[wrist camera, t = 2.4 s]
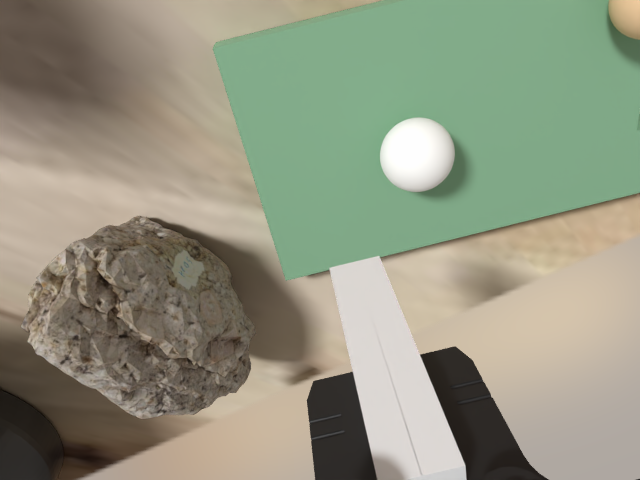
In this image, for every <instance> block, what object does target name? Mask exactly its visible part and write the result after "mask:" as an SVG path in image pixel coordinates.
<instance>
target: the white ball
mask: <svg viewBox="0 0 640 480" xmlns="http://www.w3.org/2000/svg"><path fill="white" fill-rule="evenodd" d="M454 158H455V149H454V144H453V141H452V138H451V136H450V134H449V133H448V131H447V130H446V129H445V128H444V127H443V126H442V125H440V124H439V123H437V122H435V121H433V120H431V119H427V118H420V117H418V118H410V119H407V120H404V121H402V122H400V123H398V124H397V125H395V126H394V127H393V128H392V129H391V130H390V131H389V132H388V133H387V135H386V136H385V138H384V140H383V143H382V146H381V150H380V163H381V167H382V169H383V172H384V174H385V175H386V177H387V178H388V179H389V181H390V182H391V183H392V184H394V185H395V186H397V187H398V188H400V189H403V190H406V191H410V192H422V191H426V190H430V189H432V188H434V187H436V186H437V185H439V184H440V183H441V182H442V181H443V180H444V179H445V178H446V177H447V176H448V174H449V173H450V171H451V169H452V166H453V163H454Z"/></svg>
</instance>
